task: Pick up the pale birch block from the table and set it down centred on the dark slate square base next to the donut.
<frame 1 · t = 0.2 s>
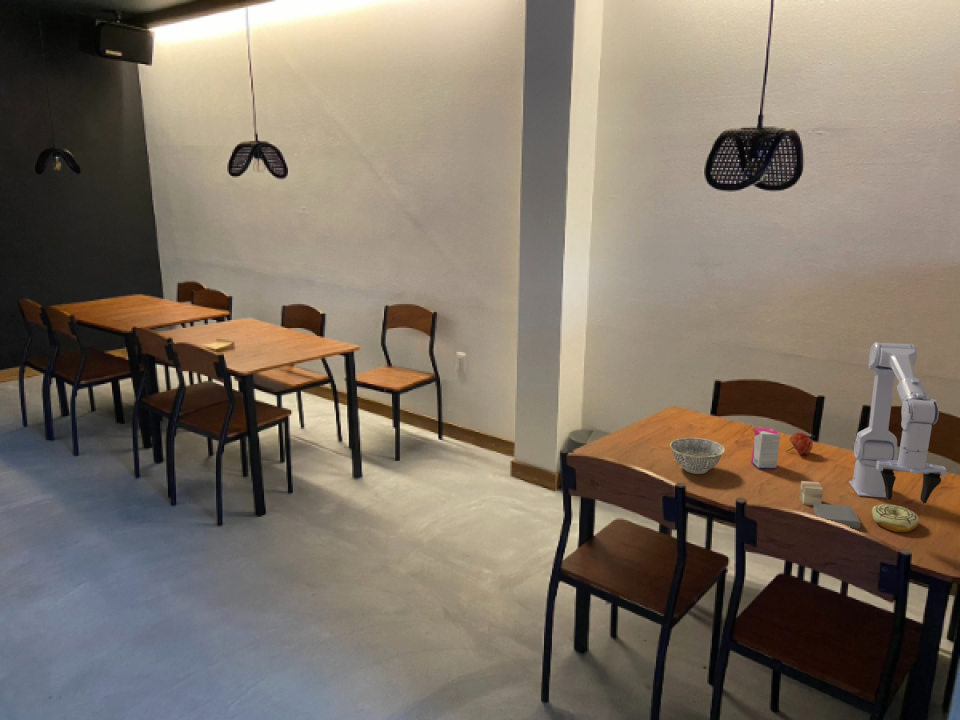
hand: (905, 499, 174), 10 cm above the table, tool pointing down, fingers open, 7 cm apart
decorated donut: (893, 525, 183), on the table
bowl: (695, 470, 218), on the table
supplement box: (763, 466, 220), on the table
red stemmed fruit: (798, 453, 230), on the table
birch block: (810, 501, 196), on the table
slate base: (835, 519, 185), on the table
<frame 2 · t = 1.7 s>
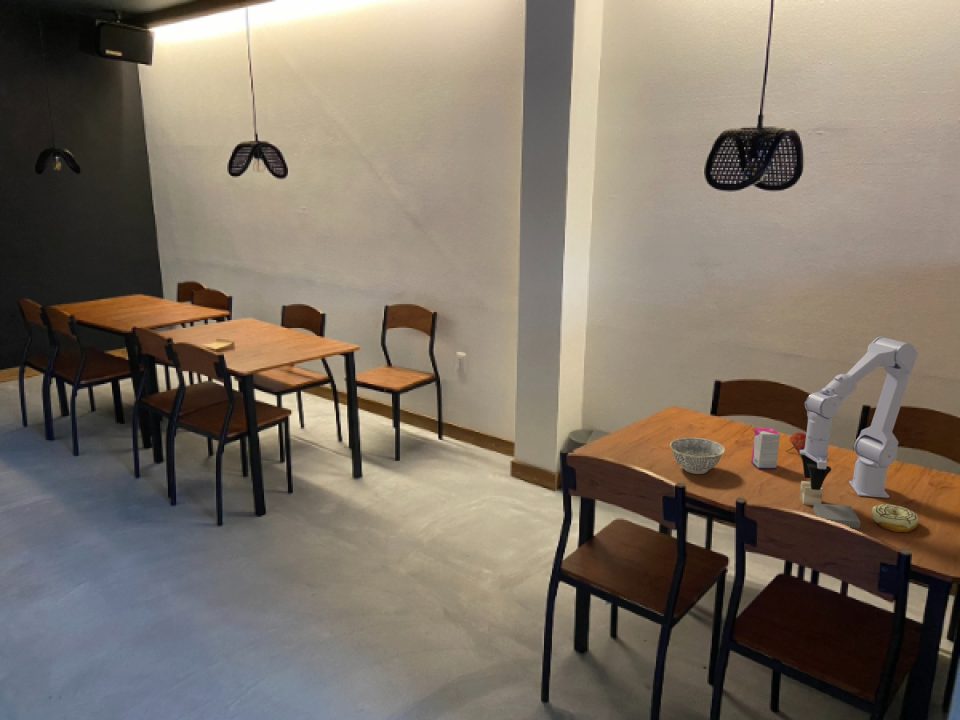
hand: (812, 483, 194), 5 cm above the table, tool pointing down, fingers open, 7 cm apart
nothing on the table moved.
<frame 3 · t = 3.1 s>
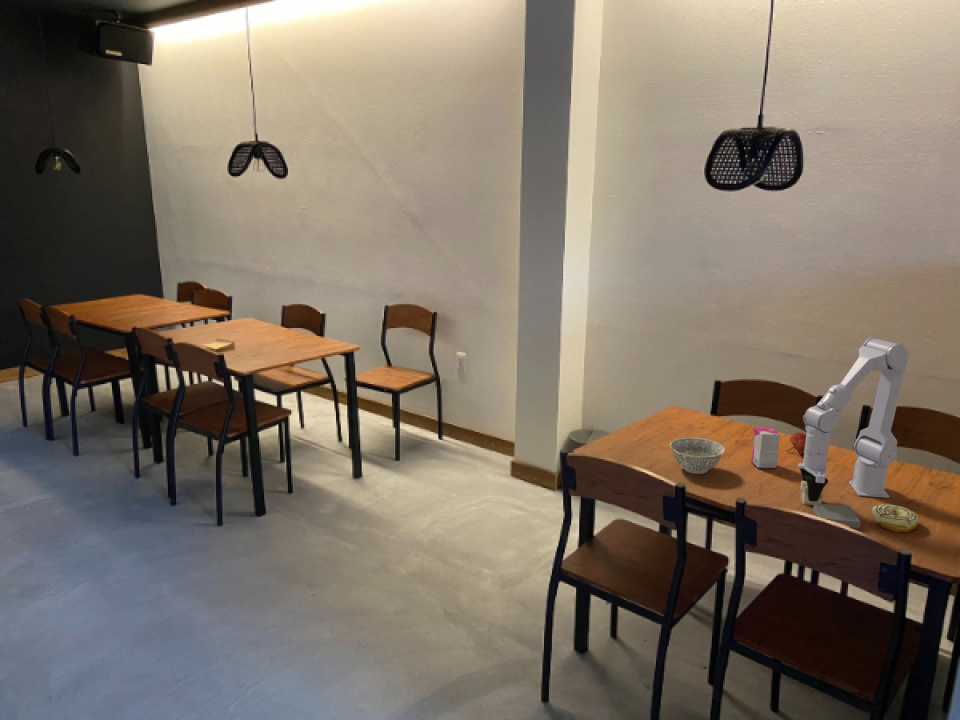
hand: (810, 496, 195), 1 cm above the table, tool pointing down, fingers closed on birch block, 4 cm apart
birch block: (810, 501, 196), on the table, touching gripper
everything else where it was.
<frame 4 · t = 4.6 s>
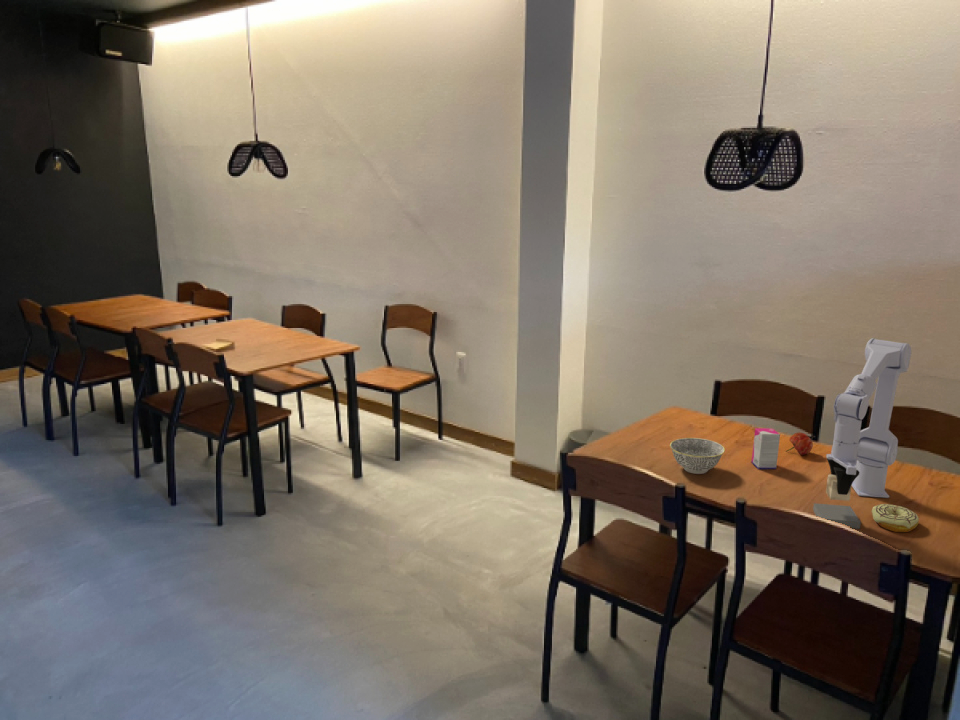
hand: (839, 489, 183), 8 cm above the table, tool pointing down, fingers closed on birch block, 4 cm apart
birch block: (837, 496, 184), point 6 cm above the table, touching gripper
everything else where it was.
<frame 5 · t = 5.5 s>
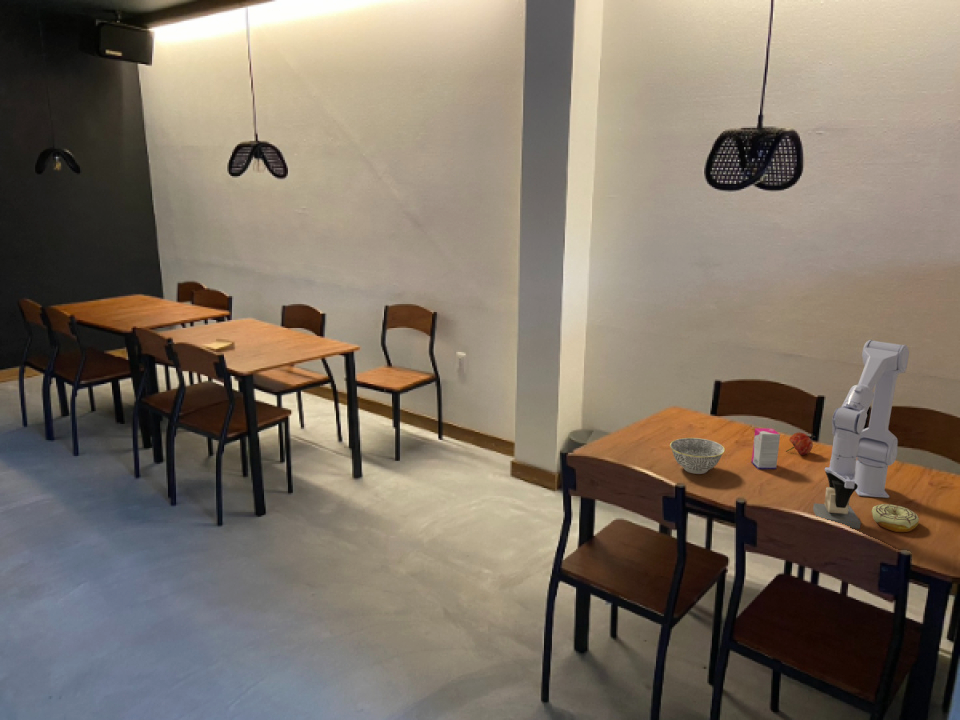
hand: (837, 502, 184), 5 cm above the table, tool pointing down, fingers closed on birch block, 4 cm apart
birch block: (835, 509, 185), point 3 cm above the table, touching gripper
everything else where it was.
when the fingers open (5 cm above the table, at t = 6.1 s): birch block stays where it is, resting on slate base.
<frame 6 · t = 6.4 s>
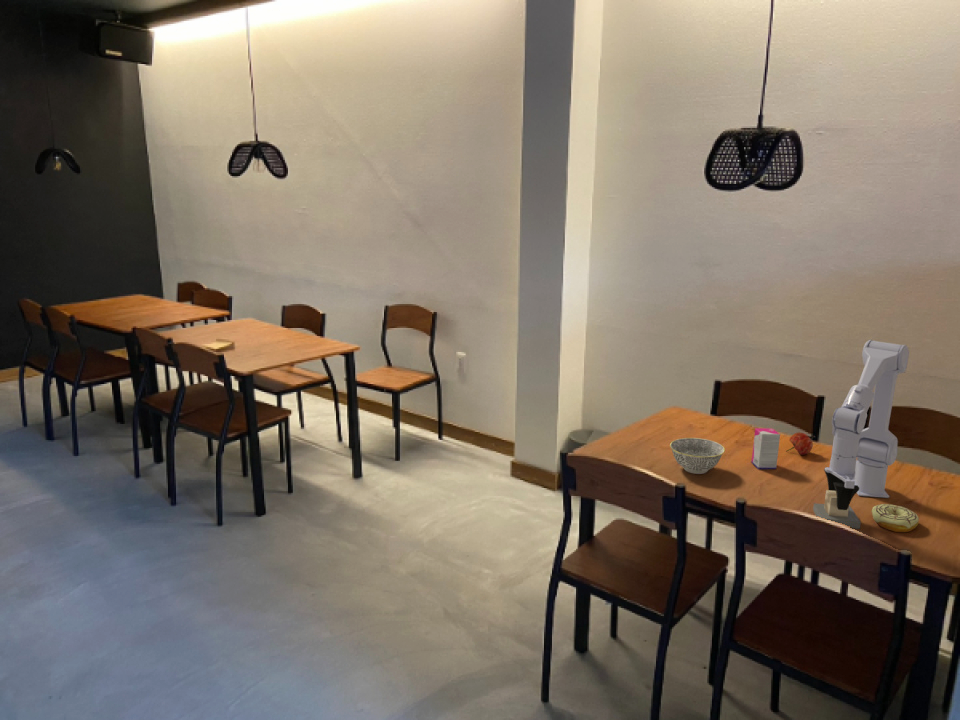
hand: (837, 502, 184), 5 cm above the table, tool pointing down, fingers open, 7 cm apart
birch block: (835, 512, 185), point 2 cm above the table, touching slate base
everything else where it was.
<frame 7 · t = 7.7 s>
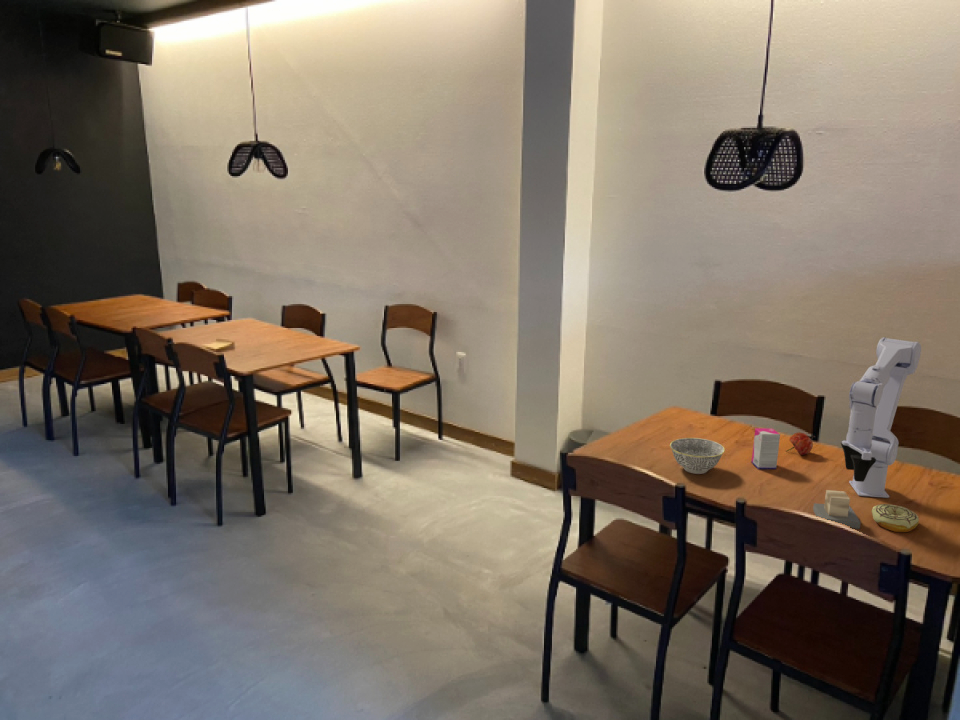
hand: (854, 475, 189), 10 cm above the table, tool pointing down, fingers open, 7 cm apart
nothing on the table moved.
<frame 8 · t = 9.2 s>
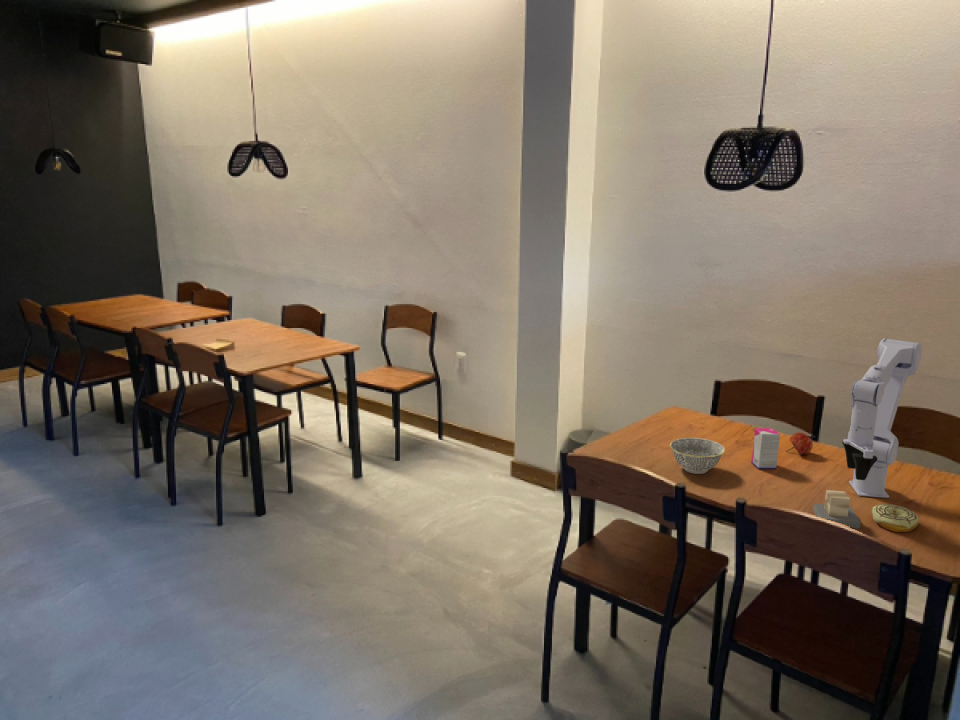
hand: (856, 473, 189), 10 cm above the table, tool pointing down, fingers open, 7 cm apart
nothing on the table moved.
at the end: birch block 0.2 cm off-centre on the slate base, point 2.0 cm above the slate base's base; birch block tilted 0°; the gripper is holding nothing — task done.
